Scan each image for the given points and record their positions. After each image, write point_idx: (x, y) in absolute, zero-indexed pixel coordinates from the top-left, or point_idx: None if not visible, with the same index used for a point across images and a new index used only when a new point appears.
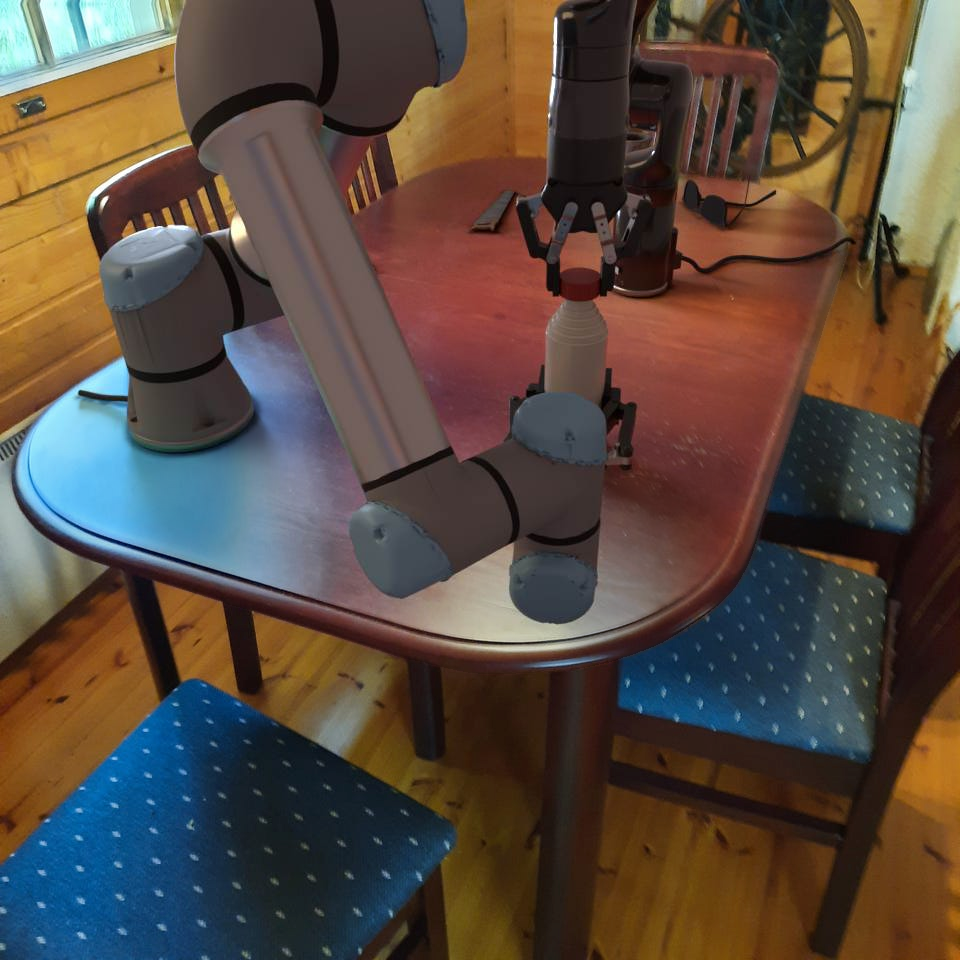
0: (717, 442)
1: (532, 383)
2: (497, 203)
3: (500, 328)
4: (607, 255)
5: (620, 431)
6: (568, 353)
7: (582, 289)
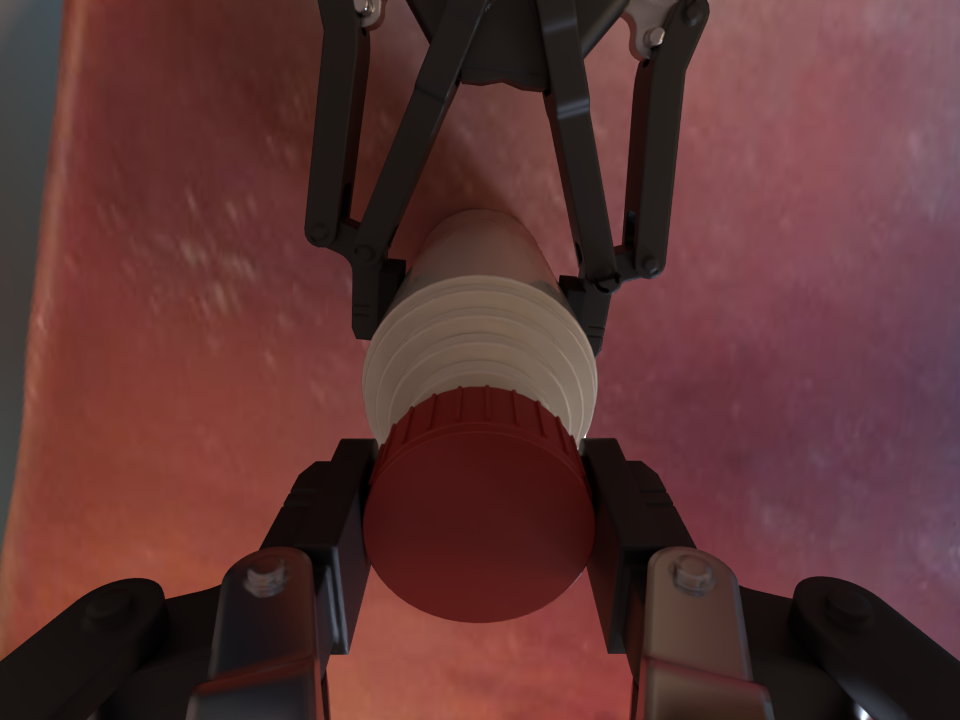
0: (158, 287)
1: None
2: None
3: (607, 684)
4: (284, 591)
5: (351, 77)
6: (514, 272)
7: (468, 415)
